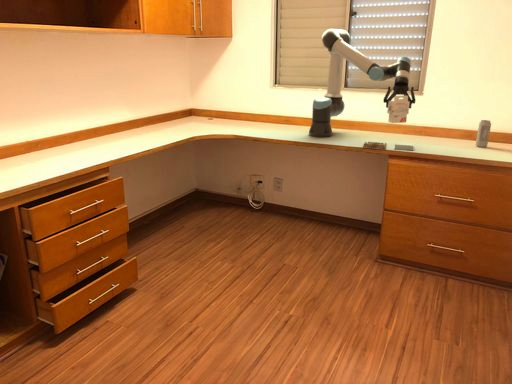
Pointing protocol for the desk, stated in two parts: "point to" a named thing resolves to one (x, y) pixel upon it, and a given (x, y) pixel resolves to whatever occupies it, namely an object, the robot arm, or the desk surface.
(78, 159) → the desk surface
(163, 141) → the desk surface
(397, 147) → the mat
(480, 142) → the grey tall block
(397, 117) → the ink cartridge box
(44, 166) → the desk surface
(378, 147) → the holder
